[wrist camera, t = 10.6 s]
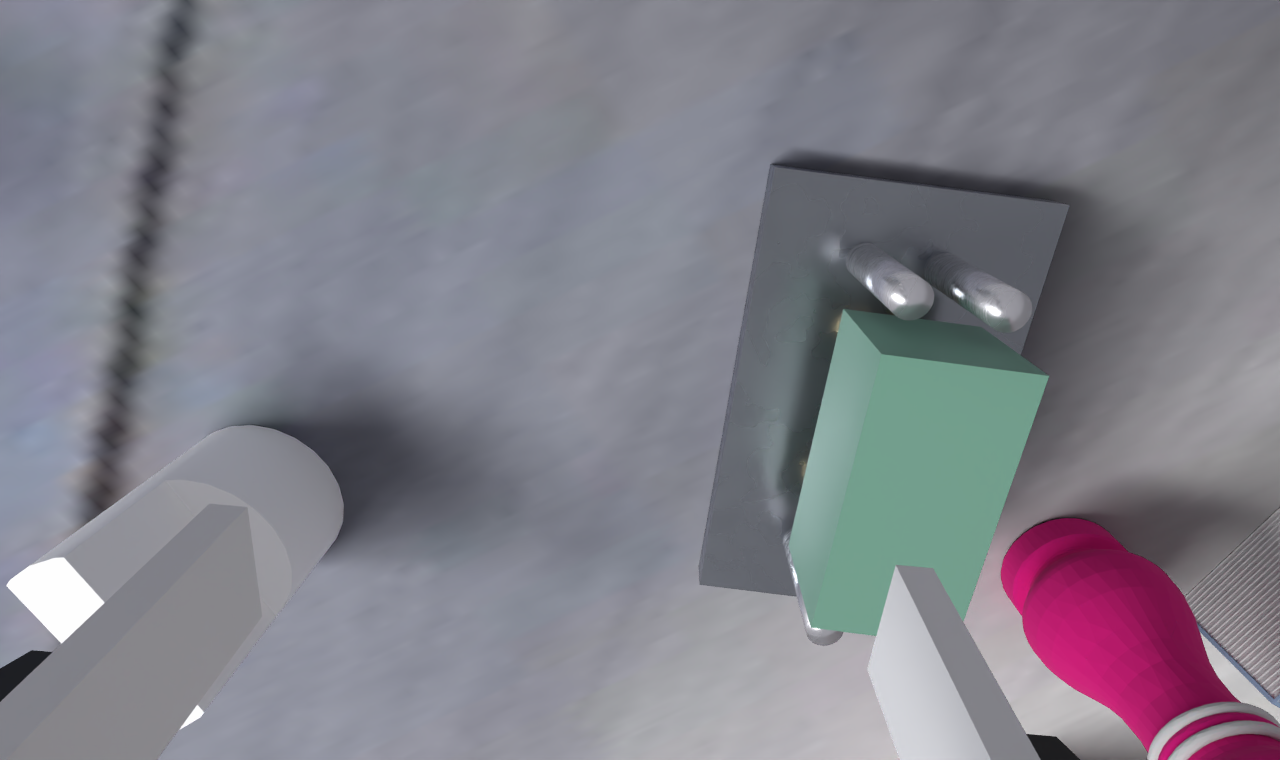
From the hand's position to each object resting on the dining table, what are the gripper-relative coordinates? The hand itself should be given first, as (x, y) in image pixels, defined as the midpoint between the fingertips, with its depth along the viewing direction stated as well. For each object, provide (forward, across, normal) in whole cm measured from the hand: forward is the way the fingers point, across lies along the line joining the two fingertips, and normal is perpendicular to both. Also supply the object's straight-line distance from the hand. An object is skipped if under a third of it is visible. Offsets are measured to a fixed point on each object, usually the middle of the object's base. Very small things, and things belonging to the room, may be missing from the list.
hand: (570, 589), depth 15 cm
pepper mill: (+22, +25, -13) cm, 36 cm away
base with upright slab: (+22, -19, -14) cm, 32 cm away
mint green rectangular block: (+18, +12, -5) cm, 22 cm away
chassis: (+22, +12, -4) cm, 26 cm away
